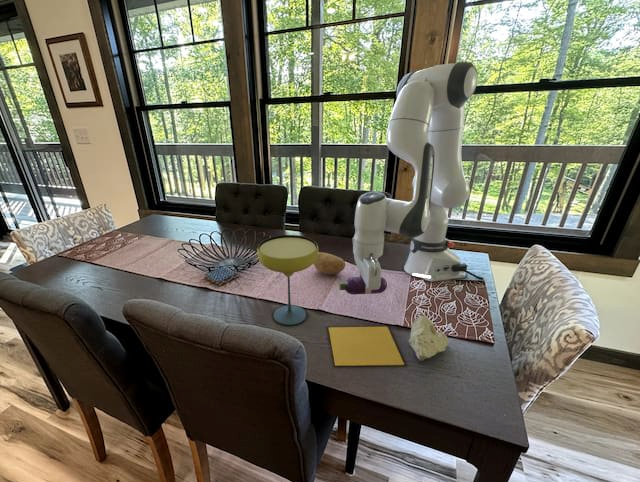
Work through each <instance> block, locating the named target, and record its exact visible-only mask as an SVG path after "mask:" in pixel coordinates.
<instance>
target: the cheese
mask: <svg viewBox="0 0 640 482" xmlns="http://www.w3.org/2000/svg"><path fill="white" fill-rule="evenodd" d="M410 328H411V329H410V338H409V340H408V343H409V345H410V346H411V348H412V350H413V351H414V352H415V355H416V357H417V359H418V360H419V361H420V362H423V361H425V359H426V360H427V359H430V358H432V357H434V356H435V355H437V354H441V353H444V352H446V350H447V347H448V346H449V344H450V340H449V338H448V336H447V334H445V333H443V332H439V331H437V329H436V327H435V325H434V323H433V322H432V320H431V319H429V317H428V316H426V315H424V314H423V315H420V316H419V317H417V318H415V320H414V321H413V323H412V325H411V327H410Z"/></svg>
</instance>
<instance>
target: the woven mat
mask: <svg viewBox="0 0 640 482" xmlns="http://www.w3.org/2000/svg"><path fill="white" fill-rule="evenodd" d="M239 276H240V275H239V274H238V272H237V271H235V270H232V269H230V268H228V267H225V266H220V267H217V268H216V269H214V270H211V271H210V272H209V271H208V272H207V273H204V278H205V279H206V280H207V281H210V282H211V283H214V284H215V285H218V286H222V285H223V284H225V283H226V284H227V282H230V281H232V280H233V279H236V278H238V277H239Z"/></svg>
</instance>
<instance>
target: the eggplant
mask: <svg viewBox="0 0 640 482" xmlns="http://www.w3.org/2000/svg"><path fill="white" fill-rule="evenodd" d="M338 285H339V286H338V287H339V291H345V292H346V293H347V294H348V295H351V296H352V295H353V296H354V295H355V296H356V295H367V294H366V293H365V291H364V290H365V287H366V285H365V282H364V280H363V278H362V277H360V276H351V277H348V278H347V279H346V280H345V282H339V284H338ZM387 287H388V281H387V280H386V279H385V277H383V276H381V285H380V288H379V289H376V290H371V293H370V294H369V295H373V294H382V293H383V292H385V291H386V290H387Z"/></svg>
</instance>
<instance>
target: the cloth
mask: <svg viewBox="0 0 640 482" xmlns="http://www.w3.org/2000/svg"><path fill="white" fill-rule="evenodd" d="M328 333H329V338H330V344H331V350H332V355H333V362H334V366H335V367H357V366H358V367H361V366H362V367H367V366H369V367H371V366H377V367H378V366H405V362H404V361H403V358H402V356H401V354H400V352H399V350H398V347H397V344H396V343H395V340H394V338H393V336H392V334H391V331H390V329H389V327H388V326H338V327H337V326H332V327H330V326H329V327H328Z"/></svg>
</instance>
